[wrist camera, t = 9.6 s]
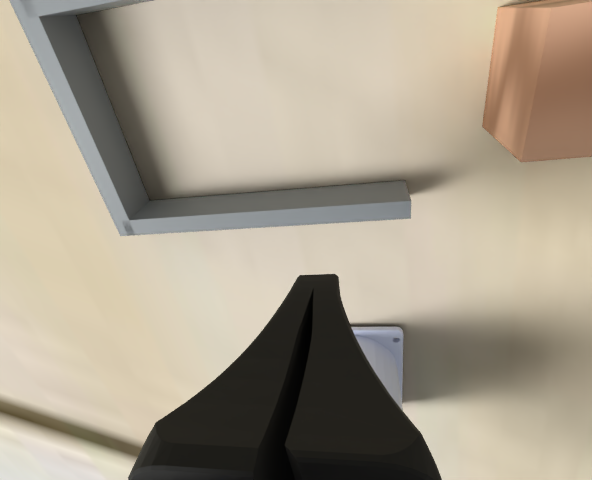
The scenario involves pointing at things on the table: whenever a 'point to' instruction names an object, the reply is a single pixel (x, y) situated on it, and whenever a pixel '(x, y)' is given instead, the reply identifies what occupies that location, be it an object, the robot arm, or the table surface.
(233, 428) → the robot arm
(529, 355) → the table surface
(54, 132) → the table surface
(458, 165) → the table surface
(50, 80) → the grey u-shaped frame
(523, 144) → the cube
